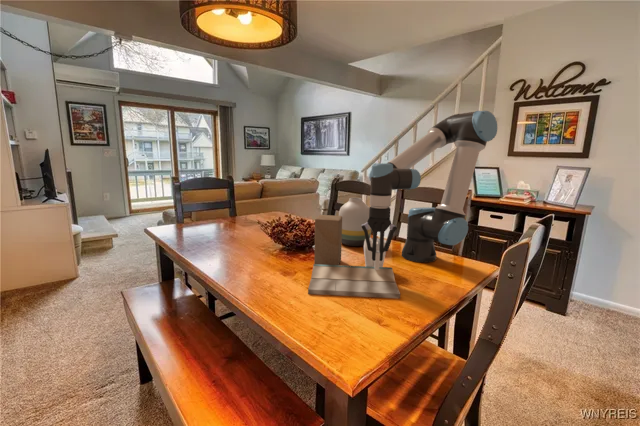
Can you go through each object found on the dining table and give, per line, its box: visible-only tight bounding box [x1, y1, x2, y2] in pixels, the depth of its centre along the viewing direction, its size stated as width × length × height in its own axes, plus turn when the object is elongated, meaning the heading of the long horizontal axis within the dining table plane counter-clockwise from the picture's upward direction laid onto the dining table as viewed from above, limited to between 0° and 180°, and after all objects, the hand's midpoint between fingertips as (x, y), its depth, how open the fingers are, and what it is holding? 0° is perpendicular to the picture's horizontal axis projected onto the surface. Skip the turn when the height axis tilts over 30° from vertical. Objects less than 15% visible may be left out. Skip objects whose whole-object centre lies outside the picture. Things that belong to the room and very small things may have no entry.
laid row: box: [307, 278, 401, 299], centre depth 105 cm, size 30×9×2 cm, turn 85°
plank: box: [310, 263, 396, 283], centre depth 114 cm, size 30×9×2 cm, turn 85°
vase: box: [338, 197, 372, 247], centre depth 158 cm, size 17×17×24 cm
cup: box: [363, 237, 387, 267], centre depth 124 cm, size 9×9×12 cm
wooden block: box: [313, 214, 343, 265], centre depth 129 cm, size 10×10×20 cm
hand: (376, 268), depth 115 cm, fingers closed
